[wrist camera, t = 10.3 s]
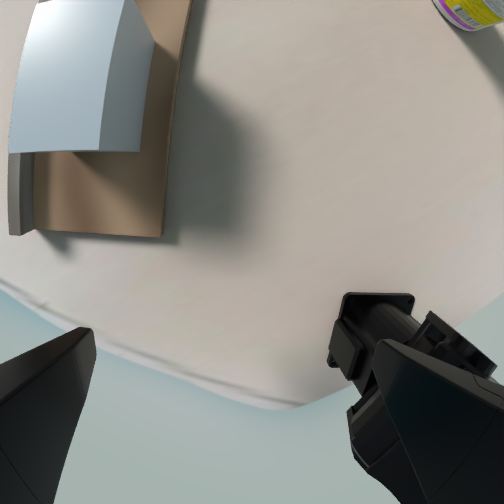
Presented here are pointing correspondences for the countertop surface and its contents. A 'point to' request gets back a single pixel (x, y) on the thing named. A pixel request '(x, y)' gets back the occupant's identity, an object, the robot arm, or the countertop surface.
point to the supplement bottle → (472, 13)
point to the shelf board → (109, 157)
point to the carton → (82, 78)
